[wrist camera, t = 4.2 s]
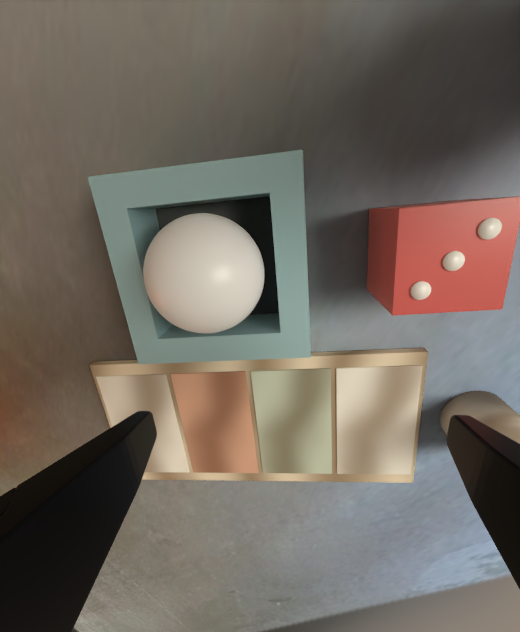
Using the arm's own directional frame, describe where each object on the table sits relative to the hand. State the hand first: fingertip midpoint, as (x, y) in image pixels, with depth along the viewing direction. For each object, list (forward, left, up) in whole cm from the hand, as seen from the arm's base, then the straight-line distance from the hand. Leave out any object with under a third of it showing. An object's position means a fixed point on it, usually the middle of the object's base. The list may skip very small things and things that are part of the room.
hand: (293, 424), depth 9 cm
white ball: (+4, -3, -11) cm, 12 cm away
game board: (+3, +10, -12) cm, 16 cm away
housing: (+4, -3, -12) cm, 13 cm away
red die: (-8, -3, -12) cm, 14 cm away
